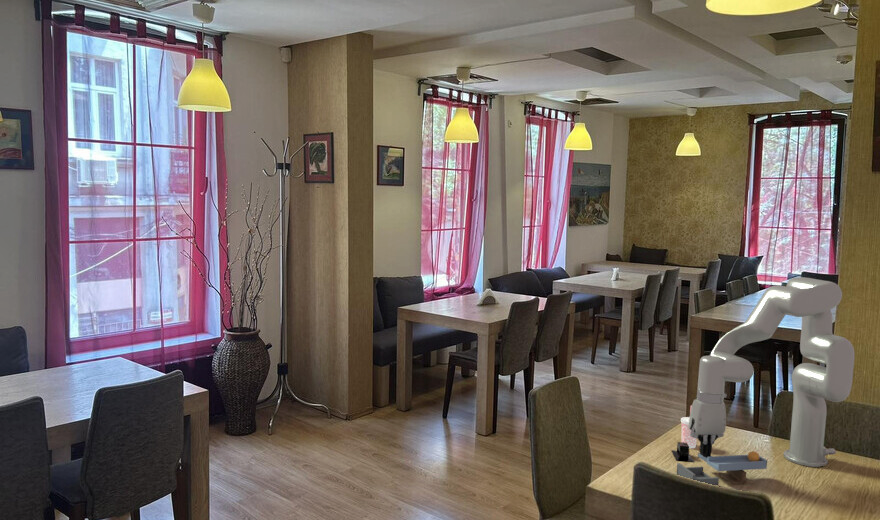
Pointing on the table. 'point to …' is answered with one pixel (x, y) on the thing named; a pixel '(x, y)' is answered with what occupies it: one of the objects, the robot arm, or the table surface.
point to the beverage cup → (687, 432)
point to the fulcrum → (736, 477)
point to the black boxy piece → (682, 453)
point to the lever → (734, 462)
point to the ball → (753, 456)
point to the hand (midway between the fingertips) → (705, 455)
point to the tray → (696, 474)
